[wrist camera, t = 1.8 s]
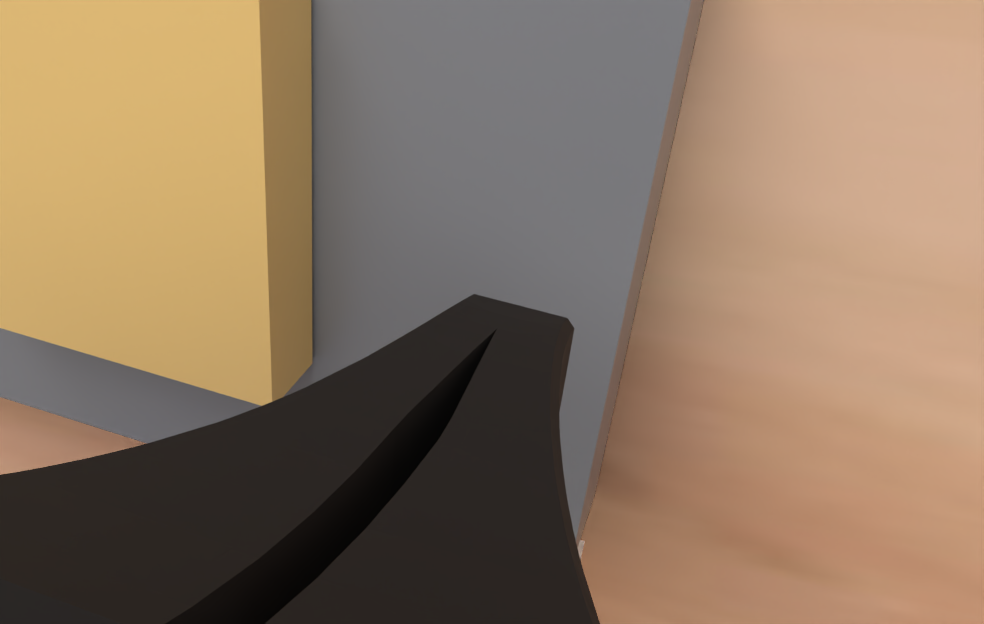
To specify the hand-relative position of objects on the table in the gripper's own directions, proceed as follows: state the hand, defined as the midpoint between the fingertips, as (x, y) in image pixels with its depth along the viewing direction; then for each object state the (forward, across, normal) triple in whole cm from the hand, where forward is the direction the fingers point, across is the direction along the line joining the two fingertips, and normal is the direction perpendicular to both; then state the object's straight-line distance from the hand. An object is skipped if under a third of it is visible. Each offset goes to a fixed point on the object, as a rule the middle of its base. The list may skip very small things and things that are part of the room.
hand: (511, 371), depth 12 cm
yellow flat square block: (+3, +8, 0) cm, 9 cm away
